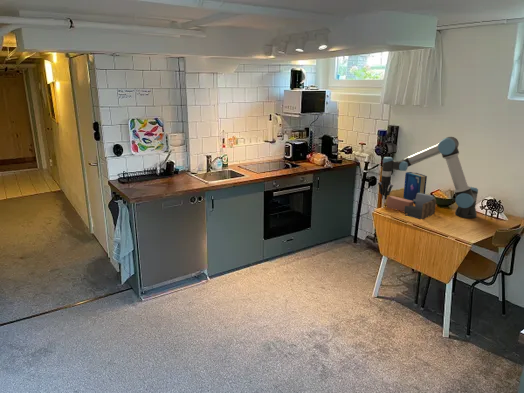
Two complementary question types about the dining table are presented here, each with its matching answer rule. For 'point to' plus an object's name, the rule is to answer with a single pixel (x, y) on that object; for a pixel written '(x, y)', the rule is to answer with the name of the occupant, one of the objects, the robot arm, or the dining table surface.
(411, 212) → the bookend
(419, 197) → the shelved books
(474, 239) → the dining table surface
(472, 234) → the dining table surface
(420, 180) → the book
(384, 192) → the robot arm
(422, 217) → the shelf wall
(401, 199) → the book box
